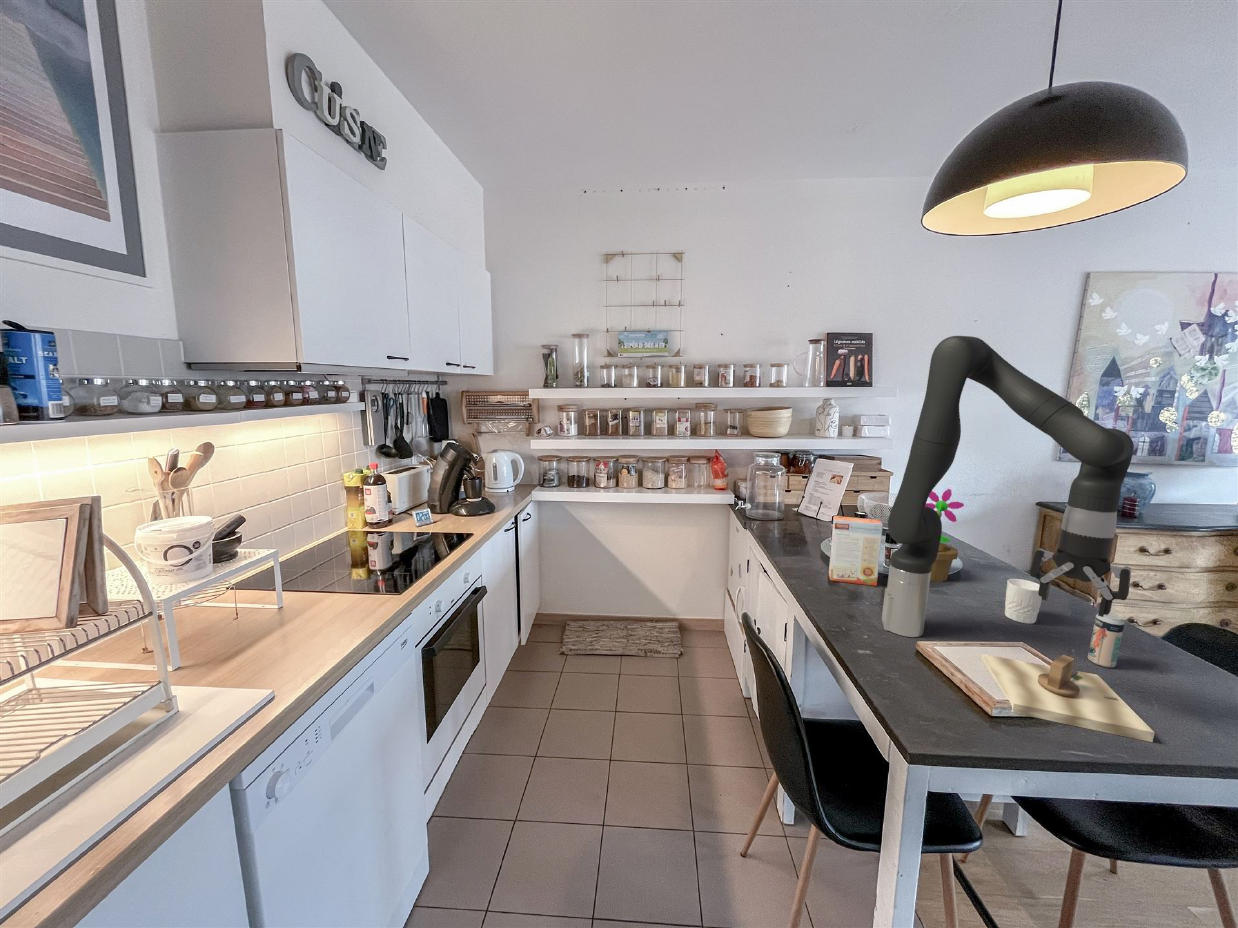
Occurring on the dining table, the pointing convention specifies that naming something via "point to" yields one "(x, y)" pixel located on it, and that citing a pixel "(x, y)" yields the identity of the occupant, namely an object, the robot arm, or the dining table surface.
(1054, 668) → the tuning knob
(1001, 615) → the dining table surface
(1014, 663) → the dial board
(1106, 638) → the beer can
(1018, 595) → the white cup
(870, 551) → the cracker box
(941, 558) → the flowerpot
